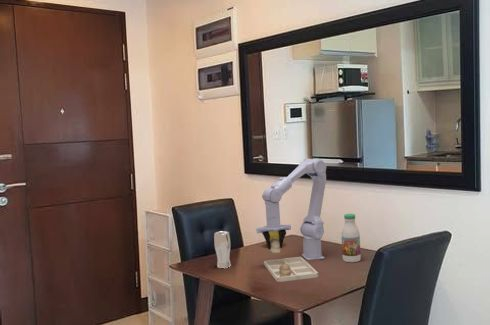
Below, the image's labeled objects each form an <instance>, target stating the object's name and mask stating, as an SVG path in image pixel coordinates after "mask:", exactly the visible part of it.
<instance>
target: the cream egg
mask: <svg viewBox="0 0 490 325" xmlns="http://www.w3.org/2000/svg"><path fill="white" fill-rule="evenodd" d="M270 247H271V249H269V252H270V253H271V254H278V253H280V252H281V248H280V241H279V240H278V239H275V238H274V239H272V240H271V241H270Z"/></svg>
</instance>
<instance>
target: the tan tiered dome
mask: <svg viewBox="0 0 490 325" xmlns="http://www.w3.org/2000/svg"><path fill="white" fill-rule="evenodd" d="M279 273H280V277H286V276H291V269H290V266H289V265H288V264H286V263H284V264H281V265H280V267H279Z"/></svg>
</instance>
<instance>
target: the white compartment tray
mask: <svg viewBox="0 0 490 325" xmlns="http://www.w3.org/2000/svg"><path fill="white" fill-rule="evenodd" d="M284 263H286V264H288V265H289V266H290V269H291V276H286V277H280V273H279V267H280V265H281V264H284ZM263 265H264V266H265V269H266V270H268V272H269V273H270V275H271V276H272V277H273V279H274V280H275V281H276V283H282V282H291V281H299V280H307V279H316V278H319V277H320V276H319V275H320V274H319V272H318V271H317V270H316V269H315V268H314V267H313V266H312V265H311V264H310V263H309V262H308V261H307V260H306V259H305V258H304V257H303V256H295V257H285V258H277V259H268V260H263Z"/></svg>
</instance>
